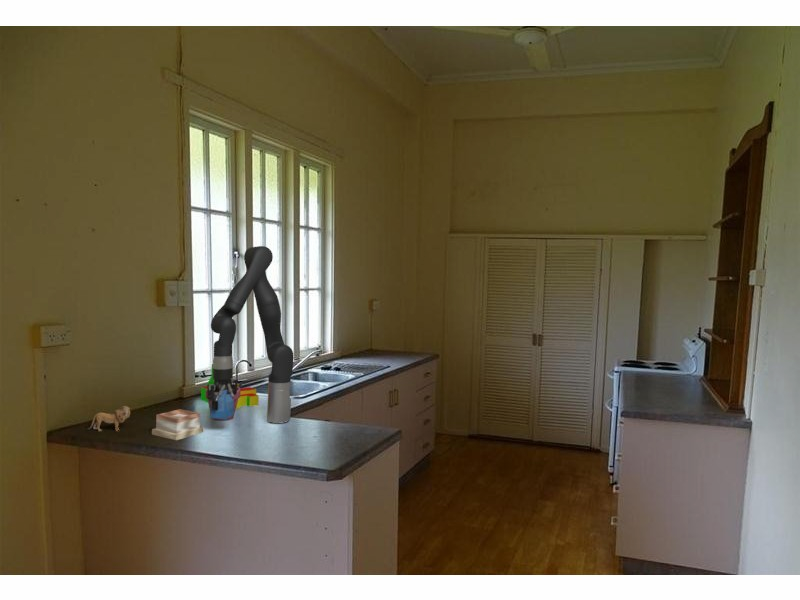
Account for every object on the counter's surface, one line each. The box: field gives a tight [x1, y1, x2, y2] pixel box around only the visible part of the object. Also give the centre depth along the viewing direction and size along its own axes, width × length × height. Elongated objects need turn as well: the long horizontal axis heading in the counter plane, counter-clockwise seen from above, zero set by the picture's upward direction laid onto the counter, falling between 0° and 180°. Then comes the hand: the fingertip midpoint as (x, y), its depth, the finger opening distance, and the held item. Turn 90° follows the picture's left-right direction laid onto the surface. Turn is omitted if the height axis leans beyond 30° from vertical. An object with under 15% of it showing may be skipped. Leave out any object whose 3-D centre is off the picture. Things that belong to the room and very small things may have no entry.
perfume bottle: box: [210, 387, 234, 419], centre depth 215 cm, size 6×6×12 cm
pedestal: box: [151, 408, 204, 441], centre depth 209 cm, size 13×13×8 cm
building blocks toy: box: [200, 363, 260, 409], centre depth 263 cm, size 19×25×18 cm
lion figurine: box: [87, 405, 131, 432], centre depth 210 cm, size 15×5×9 cm, turn 110°
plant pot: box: [206, 386, 241, 421], centre depth 234 cm, size 14×14×13 cm
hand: (222, 408), depth 215 cm, fingers closed on perfume bottle, 7 cm apart
